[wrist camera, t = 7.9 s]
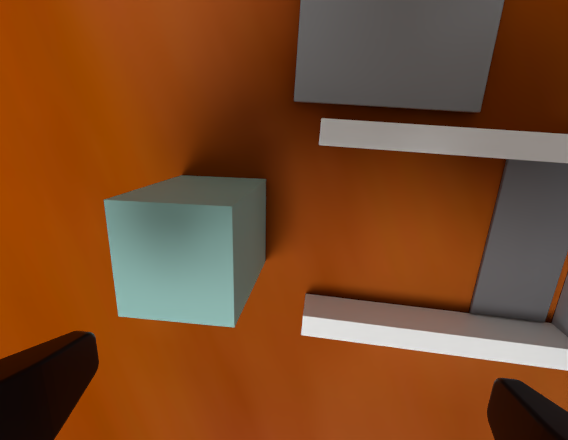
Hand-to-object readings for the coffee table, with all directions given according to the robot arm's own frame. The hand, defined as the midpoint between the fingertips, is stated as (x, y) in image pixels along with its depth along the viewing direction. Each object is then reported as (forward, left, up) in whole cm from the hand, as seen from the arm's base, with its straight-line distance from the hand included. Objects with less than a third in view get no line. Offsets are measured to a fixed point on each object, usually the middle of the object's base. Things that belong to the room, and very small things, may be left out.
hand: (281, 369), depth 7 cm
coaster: (-3, -11, -12) cm, 17 cm away
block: (+5, 0, -12) cm, 13 cm away
